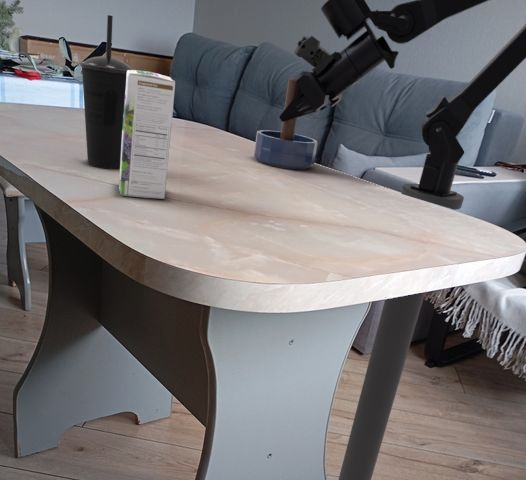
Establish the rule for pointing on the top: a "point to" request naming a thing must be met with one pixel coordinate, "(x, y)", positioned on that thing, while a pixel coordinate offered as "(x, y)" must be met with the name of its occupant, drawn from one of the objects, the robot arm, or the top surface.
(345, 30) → the robot arm
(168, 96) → the syrup box
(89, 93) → the drinking cup
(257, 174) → the top surface
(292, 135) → the rod
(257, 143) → the bowl
